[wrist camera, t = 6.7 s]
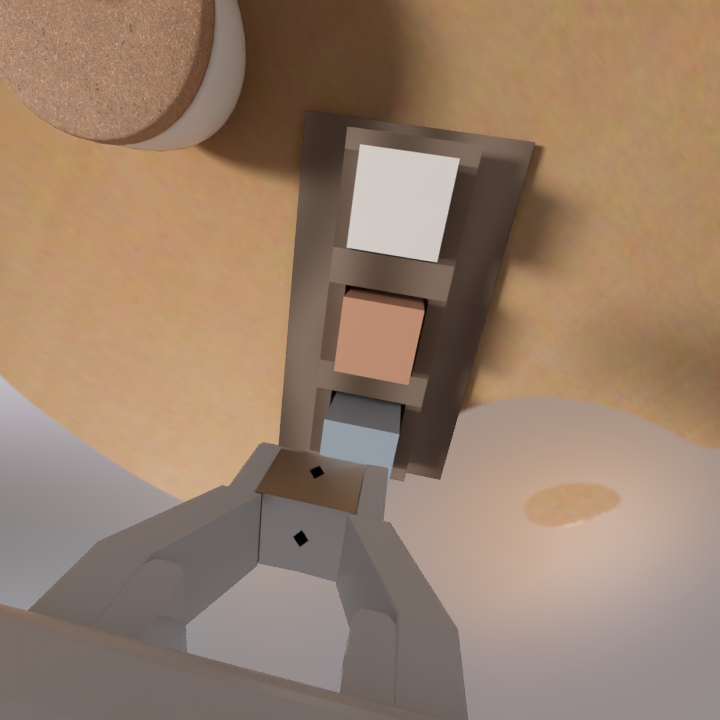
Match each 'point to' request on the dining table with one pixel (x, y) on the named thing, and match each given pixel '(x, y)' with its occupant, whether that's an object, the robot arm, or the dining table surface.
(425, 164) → the key white
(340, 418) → the key slate
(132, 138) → the lidded jar
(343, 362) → the key terracotta
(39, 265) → the dining table surface
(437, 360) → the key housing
